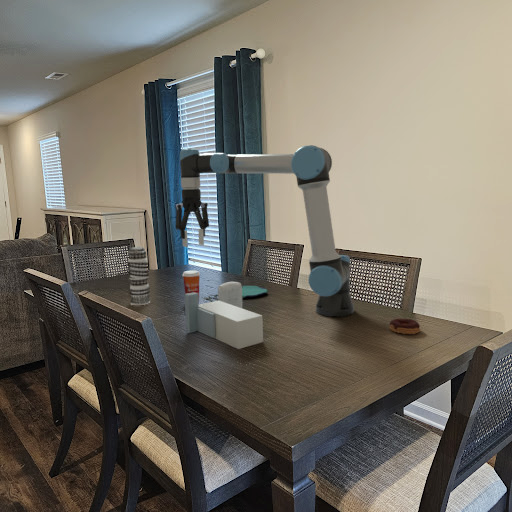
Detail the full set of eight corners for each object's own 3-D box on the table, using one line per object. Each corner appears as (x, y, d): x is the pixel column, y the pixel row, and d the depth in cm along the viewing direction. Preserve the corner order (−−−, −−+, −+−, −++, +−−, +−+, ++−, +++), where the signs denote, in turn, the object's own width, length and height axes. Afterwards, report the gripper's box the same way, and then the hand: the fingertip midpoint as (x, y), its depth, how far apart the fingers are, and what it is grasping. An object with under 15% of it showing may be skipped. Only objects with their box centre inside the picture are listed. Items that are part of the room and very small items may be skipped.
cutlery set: (275, 295, 212) (275, 290, 211) (217, 306, 197) (217, 301, 196) (253, 288, 229) (252, 283, 228) (198, 298, 213) (198, 293, 213)
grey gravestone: (238, 308, 191) (237, 279, 189) (244, 310, 187) (243, 281, 185) (217, 312, 185) (216, 283, 183) (222, 315, 182) (221, 284, 180)
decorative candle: (125, 305, 199) (121, 249, 195) (137, 300, 208) (133, 246, 204) (143, 306, 196) (140, 249, 192) (154, 301, 205) (151, 246, 201)
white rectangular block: (262, 341, 150) (262, 315, 148) (238, 349, 144) (237, 321, 142) (219, 323, 170) (219, 300, 169) (196, 329, 164) (195, 305, 163)
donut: (422, 329, 159) (423, 318, 159) (416, 338, 151) (417, 326, 150) (393, 325, 164) (393, 315, 164) (386, 333, 156) (386, 322, 155)
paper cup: (184, 306, 196) (183, 274, 194) (182, 301, 204) (181, 271, 201) (202, 304, 198) (201, 272, 196) (200, 300, 206) (198, 269, 203)
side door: (215, 337, 154) (213, 298, 152) (204, 340, 151) (203, 300, 149) (196, 328, 163) (195, 292, 161) (186, 331, 161) (184, 294, 159)
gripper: (207, 188, 191) (209, 242, 195) (164, 189, 179) (167, 247, 183) (216, 188, 185) (218, 244, 189) (173, 189, 173) (176, 249, 177)
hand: (193, 245), depth 186 cm, fingers open, 7 cm apart
